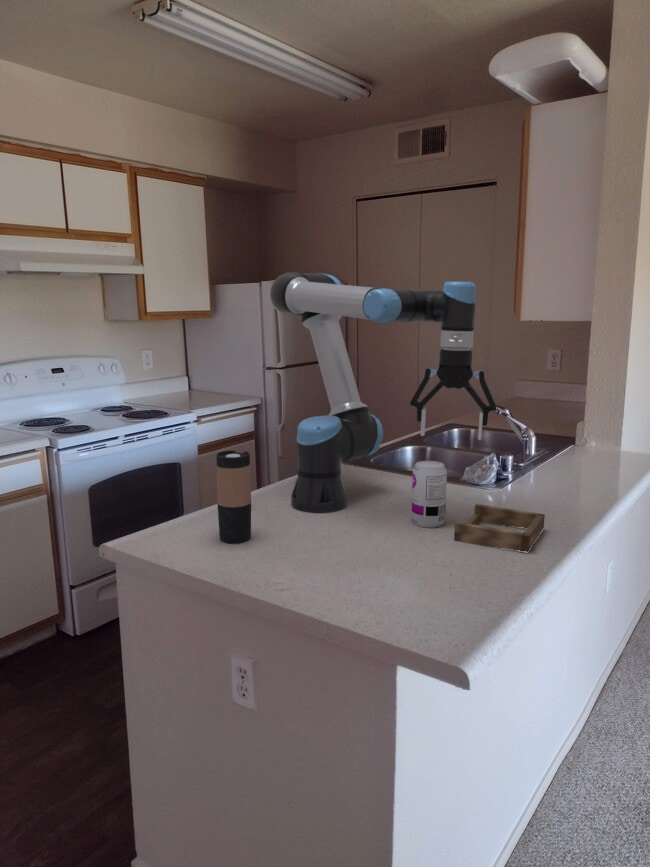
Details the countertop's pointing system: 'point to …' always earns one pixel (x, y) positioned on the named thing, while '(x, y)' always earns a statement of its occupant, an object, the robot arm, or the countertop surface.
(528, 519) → the dock bay
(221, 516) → the travel mug
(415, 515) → the supplement can
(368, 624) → the countertop surface
